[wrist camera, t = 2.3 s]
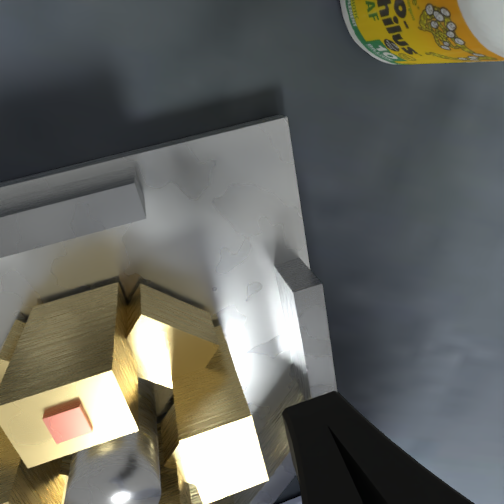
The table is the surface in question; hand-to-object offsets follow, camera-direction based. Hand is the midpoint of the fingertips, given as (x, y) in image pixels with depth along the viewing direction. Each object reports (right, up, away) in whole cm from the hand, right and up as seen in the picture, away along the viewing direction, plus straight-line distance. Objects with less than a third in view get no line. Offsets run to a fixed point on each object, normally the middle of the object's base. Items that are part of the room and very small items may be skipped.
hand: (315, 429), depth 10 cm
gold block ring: (-7, -2, +8) cm, 11 cm away
